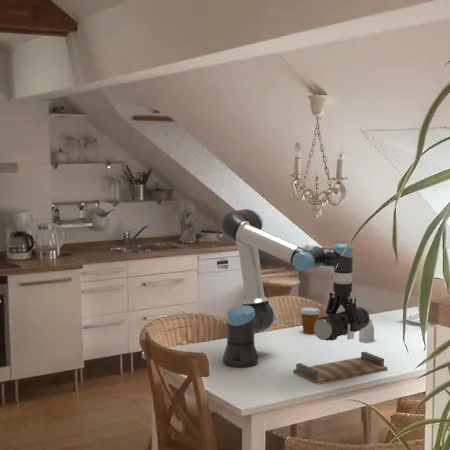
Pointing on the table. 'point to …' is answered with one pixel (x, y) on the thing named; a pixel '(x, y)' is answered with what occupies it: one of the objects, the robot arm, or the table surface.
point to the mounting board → (341, 368)
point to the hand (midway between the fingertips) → (341, 335)
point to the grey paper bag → (367, 333)
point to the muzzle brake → (338, 324)
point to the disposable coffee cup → (309, 319)
